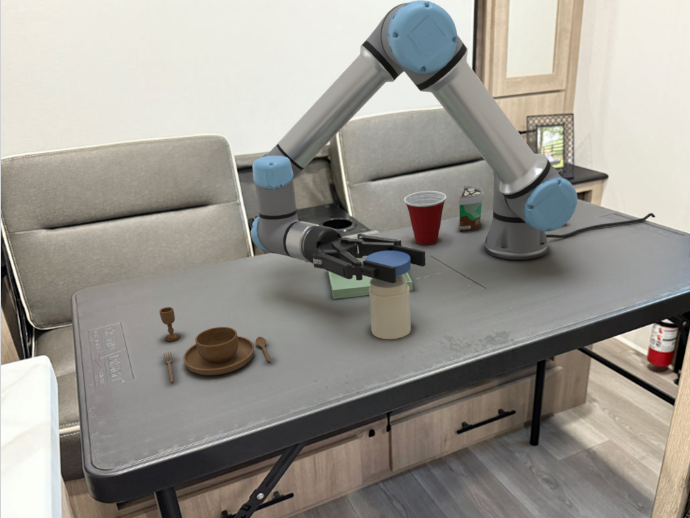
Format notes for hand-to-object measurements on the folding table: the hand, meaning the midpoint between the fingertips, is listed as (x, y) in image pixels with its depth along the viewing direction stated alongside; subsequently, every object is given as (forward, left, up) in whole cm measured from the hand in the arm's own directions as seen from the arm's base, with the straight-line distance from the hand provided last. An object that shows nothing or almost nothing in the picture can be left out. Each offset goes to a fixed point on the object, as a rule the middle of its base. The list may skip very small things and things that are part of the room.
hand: (409, 266), depth 105 cm
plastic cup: (-14, -49, -14) cm, 53 cm away
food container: (-29, -57, -14) cm, 66 cm away
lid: (+3, -3, 0) cm, 5 cm away
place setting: (+35, -3, -14) cm, 38 cm away
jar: (+3, -3, -14) cm, 15 cm away
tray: (+4, -27, -14) cm, 31 cm away
